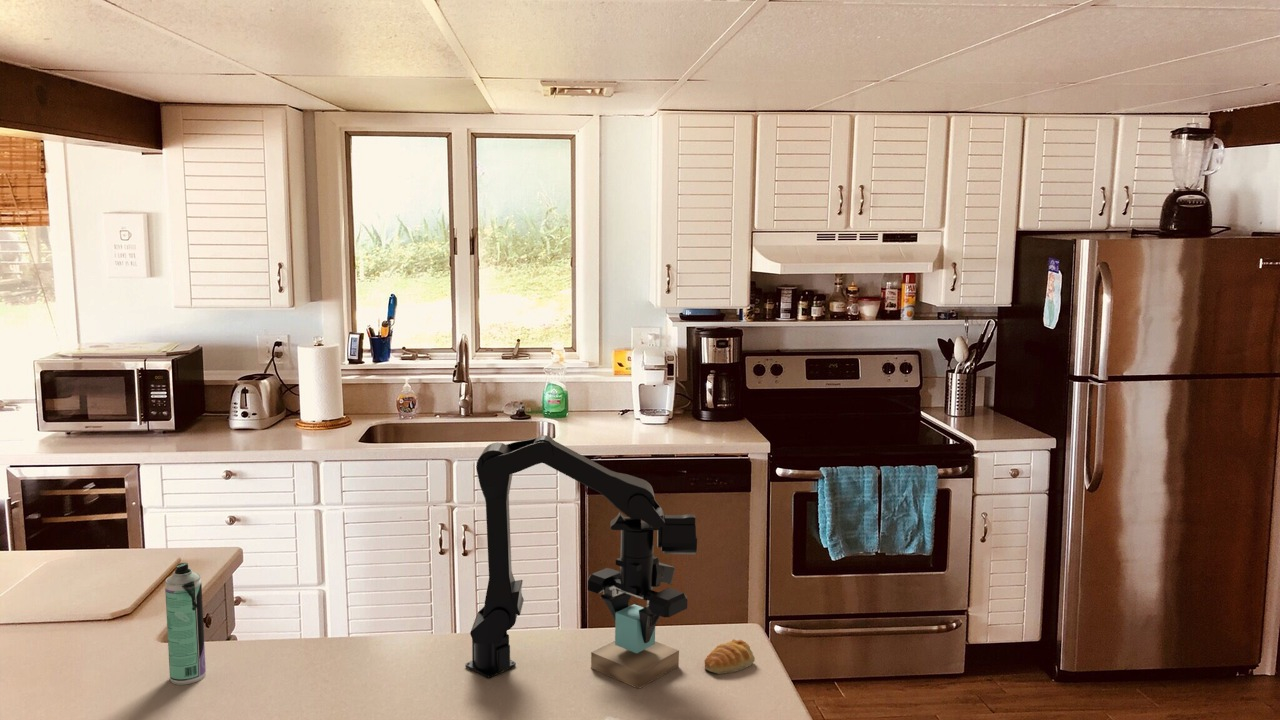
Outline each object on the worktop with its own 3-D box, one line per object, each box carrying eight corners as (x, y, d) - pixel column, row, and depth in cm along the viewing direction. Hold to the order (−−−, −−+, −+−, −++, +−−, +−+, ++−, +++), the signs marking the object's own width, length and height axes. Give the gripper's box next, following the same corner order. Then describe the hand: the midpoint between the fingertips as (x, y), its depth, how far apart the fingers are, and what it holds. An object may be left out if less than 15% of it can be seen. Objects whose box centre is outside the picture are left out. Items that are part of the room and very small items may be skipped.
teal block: (615, 644, 162) (615, 612, 162) (633, 635, 166) (634, 604, 165) (636, 653, 159) (637, 620, 158) (654, 644, 163) (655, 611, 162)
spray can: (213, 672, 159) (207, 561, 156) (188, 687, 153) (182, 571, 151) (188, 667, 160) (182, 556, 158) (162, 681, 155) (156, 567, 153)
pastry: (723, 681, 159) (723, 660, 159) (694, 668, 164) (694, 647, 163) (757, 664, 166) (758, 644, 165) (728, 652, 170) (729, 632, 170)
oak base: (591, 668, 163) (591, 652, 162) (631, 647, 171) (632, 632, 171) (638, 688, 156) (638, 671, 155) (678, 666, 164) (679, 650, 163)
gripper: (707, 553, 161) (705, 639, 163) (627, 530, 172) (625, 610, 175) (667, 570, 152) (665, 660, 154) (585, 544, 164) (584, 628, 166)
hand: (635, 638), depth 162 cm, fingers closed on teal block, 5 cm apart
